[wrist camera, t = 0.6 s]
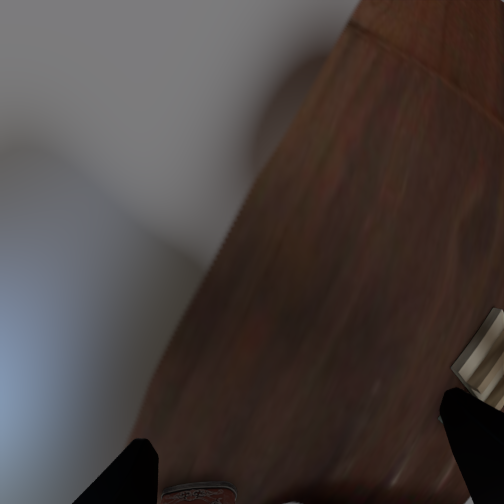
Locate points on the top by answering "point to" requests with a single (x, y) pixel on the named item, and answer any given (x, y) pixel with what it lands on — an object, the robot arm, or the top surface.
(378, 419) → the top surface
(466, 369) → the groove base
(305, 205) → the top surface
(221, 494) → the lighter
